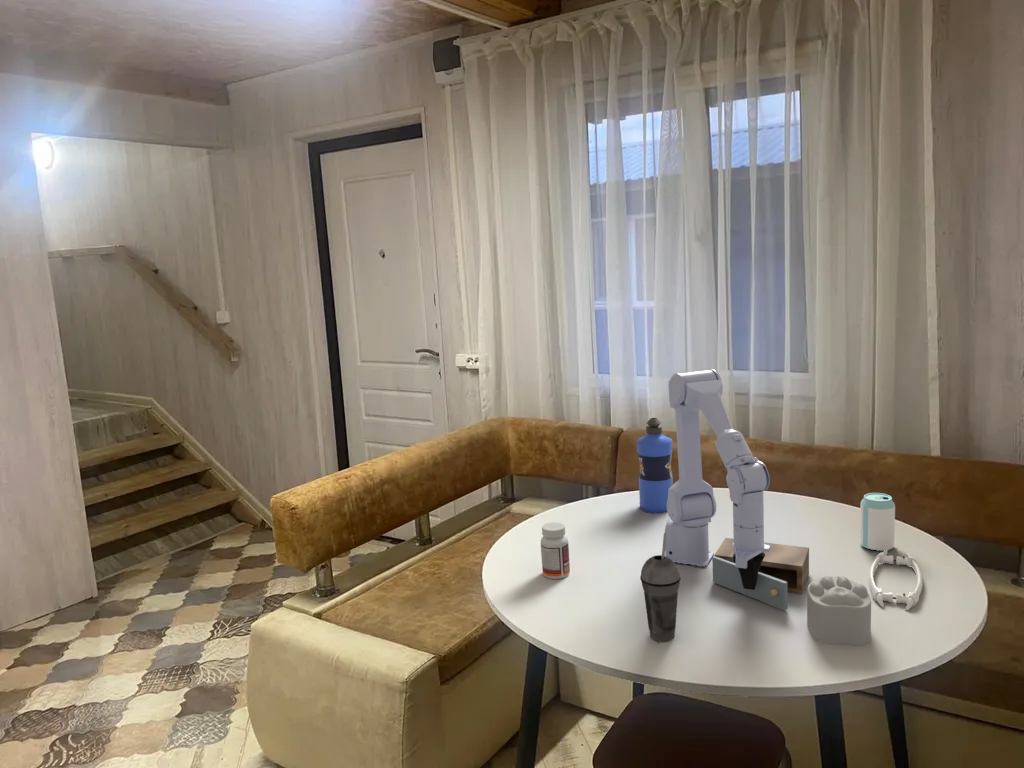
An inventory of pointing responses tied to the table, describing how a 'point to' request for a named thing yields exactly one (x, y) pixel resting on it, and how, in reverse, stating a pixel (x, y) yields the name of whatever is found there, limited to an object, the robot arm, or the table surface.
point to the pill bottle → (554, 551)
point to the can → (877, 522)
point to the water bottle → (654, 468)
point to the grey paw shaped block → (838, 611)
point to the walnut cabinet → (778, 563)
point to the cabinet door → (765, 589)
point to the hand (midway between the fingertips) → (749, 588)
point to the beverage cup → (661, 595)
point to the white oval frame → (908, 600)
